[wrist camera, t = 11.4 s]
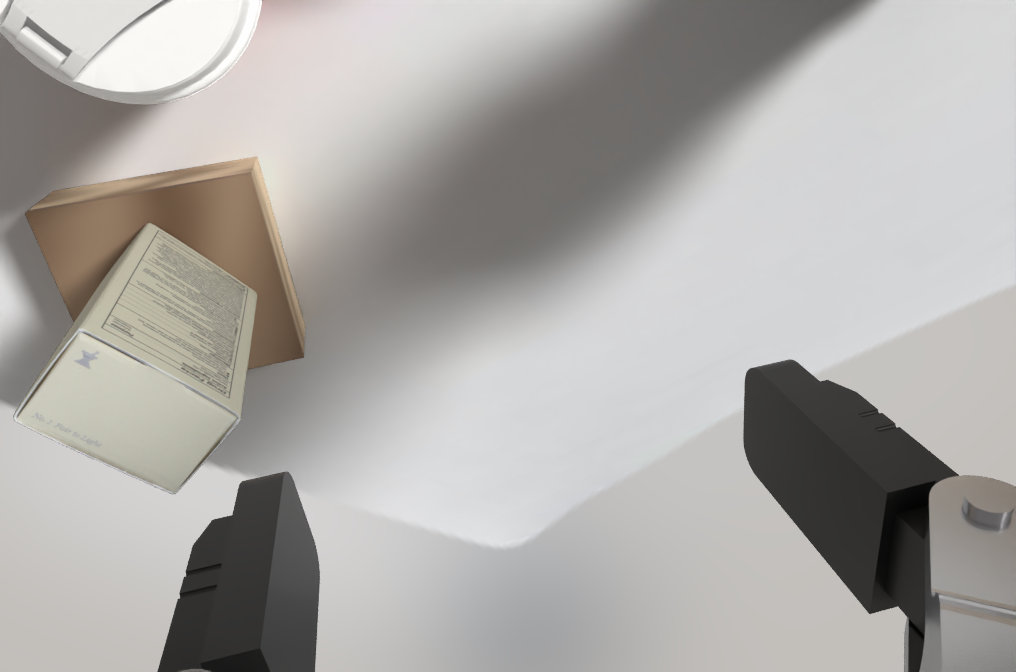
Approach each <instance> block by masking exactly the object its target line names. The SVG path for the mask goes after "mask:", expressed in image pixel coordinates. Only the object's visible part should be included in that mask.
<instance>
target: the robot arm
mask: <svg viewBox="0 0 1016 672" xmlns="http://www.w3.org/2000/svg"><path fill="white" fill-rule="evenodd" d="M744 449H745V453H746V457H747V460H748V462H749V465H750V467H751V469H752V470H753V472H754V474H755V475H756V476H757V477H758V479H759V480H760V481H761V482H762V483H763V485H764V486H765V487H766V488H767V489H768V491H769V492H770V493H771V494H772V496H773V497H774V498H775V499H776V501H777V502H778V503H779V504H780V505H781V507H782V508H783V509H784V510H785V512H786V513H787V514H788V515H789V516H790V518H791V519H792V520H793V521H794V523H795V524H796V525H797V526H798V527H799V529H800V530H801V531H802V532H803V533H804V535H805V536H806V537H807V538H808V540H809V541H810V542H811V543H812V544H813V546H814V547H815V548H816V549H817V551H818V552H819V553H820V554H821V555H822V557H823V558H824V559H825V560H826V561H827V563H828V564H829V565H830V566H831V567H832V569H833V570H834V571H835V572H836V574H837V575H838V576H839V577H840V579H841V580H842V581H843V582H844V583H845V585H846V586H847V587H848V588H849V589H850V591H851V592H852V593H853V594H854V596H855V597H856V598H857V599H858V600H859V602H860V603H861V604H862V605H863V607H864V608H865V609H866V610H867V611H868V613H869V614H871V613H875V612H879V611H882V610H886V609H890V608H894V607H897V606H898V607H899V608H900V609H901V610H902V611H903V612H904V613H905V615H906V616H907V621H906V626H905V635H904V636H905V637H904V672H1016V487H1015V486H1013V485H1011V484H1008V483H1006V482H1003V481H1000V480H996V479H992V478H988V477H982V476H970V475H968V476H967V475H963V476H959V475H958V474H957V473H956V472H954V471H953V470H952V469H950V468H949V467H948V466H947V465H946V464H944V463H943V462H942V461H941V460H939V459H938V458H937V457H936V456H935V455H933V454H932V453H931V452H930V451H928V450H927V449H926V448H925V447H923V446H922V445H921V444H920V443H919V442H917V441H916V440H915V439H914V438H912V437H911V436H910V435H909V434H907V433H906V432H905V431H904V430H902V429H901V428H900V427H898V428H896V426H895V423H894V422H893V421H891V420H890V419H889V418H888V417H886V416H885V415H884V414H883V413H878V409H877V408H875V407H874V406H873V405H872V404H870V403H869V402H868V401H867V400H866V399H864V398H863V397H862V396H861V395H859V394H858V393H857V392H855V391H852V390H850V389H848V388H845V387H843V386H841V385H838V384H836V383H833V382H831V381H829V380H825V381H821V382H820V381H819V380H817V379H816V378H815V377H814V376H813V375H812V374H810V373H809V372H808V371H807V370H806V369H805V368H803V367H802V366H801V365H800V364H799V363H797V362H796V361H794V360H786V361H781V362H777V363H772V364H768V365H763V366H759V367H755V368H750V369H749V370H748V371H747V373H746V377H745V397H744ZM319 583H320V571H319V561H318V555H317V550H316V546H315V542H314V539H313V536H312V533H311V530H310V527H309V524H308V521H307V519H306V516H305V513H304V510H303V507H302V504H301V501H300V498H299V495H298V492H297V489H296V487H295V484H294V481H293V479H292V476H291V475H290V473H289V472H282V473H278V474H273V475H269V476H264V477H260V478H255V479H251V480H246V481H242V482H241V483H240V485H239V489H238V493H237V497H236V502H235V507H234V511H233V515H232V516H227V517H223V518H219V519H214V520H212V521H211V523H210V524H209V525H208V527H207V528H206V529H205V531H204V532H203V533H202V534H201V536H200V537H199V538H198V540H197V541H196V542H195V544H194V545H193V547H192V551H191V554H190V558H189V561H188V565H187V569H186V577H184V579H183V583H182V586H181V590H180V599H178V601H177V604H176V608H175V611H174V615H173V619H172V623H171V626H170V629H169V633H168V636H167V640H166V644H165V647H164V651H163V655H162V658H161V661H160V665H159V669H158V672H315V658H316V640H317V621H318V601H319Z"/></svg>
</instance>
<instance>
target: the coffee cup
mask: <svg viewBox="0 0 1016 672" xmlns="http://www.w3.org/2000/svg"><path fill="white" fill-rule="evenodd" d="M261 6H262V0H0V33H1V34H2V35H3V36H4V37H5V38H6V39H7V40H8V41H9V42H10V43H11V44H12V45H13V46H14V48H15V49H16V50H17V51H18V52H19V53H21V54H22V55H23V56H24V57H26V58H27V59H28V60H29V61H30V62H32V63H33V64H34V65H35V66H36V67H38V68H39V69H40V70H42V71H44V72H45V73H47V74H48V75H50V76H51V77H53V78H54V79H56V80H58V81H59V82H61V83H63V84H65V85H67V86H69V87H72V88H74V89H76V90H78V91H80V92H82V93H85V94H88V95H91V96H94V97H97V98H100V99H104V100H108V101H114V102H119V103H125V104H144V105H151V104H159V103H168V102H172V101H176V100H179V99H183V98H186V97H190V96H192V95H194V94H196V93H198V92H200V91H202V90H204V89H206V88H208V87H210V86H211V85H212V84H214V83H215V82H216V81H218V80H219V79H221V78H222V77H223V76H224V75H225V74H226V73H227V72H228V71H229V70H230V69H231V68H232V67H233V66H234V65H235V64H236V63H237V62H238V60H239V59H240V57H241V56H242V54H243V53H244V51H245V50H246V48H247V47H248V45H249V43H250V40H251V38H252V36H253V33H254V31H255V29H256V27H257V23H258V19H259V15H260V10H261Z"/></svg>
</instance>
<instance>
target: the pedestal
mask: <svg viewBox="0 0 1016 672" xmlns="http://www.w3.org/2000/svg"><path fill="white" fill-rule="evenodd" d="M25 215H26V217H27V219H28V222H29V224H30V226H31V228H32V231H33V233H34V235H35V237H36V240H37V242H38V244H39V246H40V248H41V251H42V253H43V255H44V257H45V260H46V262H47V264H48V266H49V268H50V271H51V273H52V275H53V277H54V280H55V282H56V284H57V286H58V288H59V291H60V293H61V295H62V297H63V300H64V302H65V304H66V306H67V308H68V311H69V313H70V315H71V317H72V320H73V322H75V320H76V319H77V317H78V316H79V315H80V313H81V312H82V310H83V309H84V307H85V306H86V304H87V303H88V301H89V300H90V298H91V297H92V295H93V294H94V292H95V291H96V289H97V288H98V286H99V285H100V283H101V282H102V281H103V279H104V278H105V276H106V275H107V274H108V272H109V271H110V269H111V268H112V267H113V265H114V264H115V263H116V261H117V260H118V259H119V257H120V256H121V255H122V254H123V252H124V251H125V250H126V248H127V247H128V246H129V245H130V243H131V242H132V241H133V239H134V238H135V237H136V236H137V235H138V233H139V232H140V231H141V230H142V228H143V227H144V226H145V225H146V224H147V223H151V224H153V225H155V226H157V227H158V228H160V229H161V230H163V231H165V232H166V233H168V234H170V235H171V236H173V237H174V238H176V239H178V240H179V241H181V242H182V243H184V244H185V245H187V246H188V247H190V248H191V249H193V250H194V251H196V252H197V253H199V254H200V255H202V256H203V257H205V258H207V259H208V260H210V261H211V262H213V263H214V264H216V265H217V266H219V267H220V268H222V269H223V270H225V271H226V272H228V273H229V274H231V275H232V276H234V277H235V278H237V279H238V280H239V281H241V282H242V283H244V284H245V285H247V286H248V287H250V288H251V289H252V290H254V291H255V292H256V293H257V302H256V309H255V316H254V324H253V331H252V338H251V346H250V353H249V360H248V367H247V369H252V368H256V367H261V366H266V365H271V364H275V363H280V362H285V361H289V360H294V359H299V358H304V342H305V324H304V320H303V317H302V313H301V310H300V306H299V303H298V299H297V296H296V292H295V288H294V285H293V281H292V278H291V274H290V271H289V267H288V264H287V260H286V257H285V253H284V250H283V246H282V242H281V239H280V235H279V232H278V228H277V225H276V221H275V218H274V214H273V211H272V207H271V204H270V200H269V196H268V193H267V189H266V186H265V182H264V179H263V175H262V172H261V168H260V165H259V161H258V157H252V158H246V159H240V160H234V161H228V162H222V163H216V164H210V165H204V166H198V167H192V168H187V169H181V170H175V171H169V172H163V173H157V174H151V175H145V176H139V177H133V178H127V179H122V180H116V181H110V182H104V183H98V184H92V185H86V186H80V187H74V188H68V189H62V190H57V191H53V192H52V193H50V194H49V195H48V196H46V197H45V198H44V199H43V200H41V201H40V202H39V203H37V204H36V205H35V206H33V207H32V208H31V209H30V210H28V211H27V212H26V213H25Z"/></svg>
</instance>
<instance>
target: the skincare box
mask: <svg viewBox="0 0 1016 672" xmlns="http://www.w3.org/2000/svg"><path fill="white" fill-rule="evenodd" d="M256 302H257V293H256V292H255V291H254V290H252V289H251V288H250V287H248V286H247V285H245V284H244V283H242V282H241V281H239V280H238V279H237V278H235V277H234V276H232V275H231V274H229V273H228V272H226V271H225V270H223V269H222V268H220V267H219V266H217V265H216V264H214V263H213V262H211V261H210V260H208V259H207V258H205V257H203V256H202V255H200V254H199V253H197V252H196V251H194V250H193V249H191V248H190V247H188V246H187V245H185V244H184V243H182V242H181V241H179V240H178V239H176V238H174V237H173V236H171V235H170V234H168V233H166V232H165V231H163V230H161V229H160V228H158V227H157V226H155V225H153V224H151V223H147V224H146V225H145V226H144V227H143V228H142V230H141V231H140V232H139V233H138V235H137V236H136V237H135V238H134V239H133V241H132V242H131V243H130V245H129V246H128V247H127V248H126V250H125V251H124V252H123V254H122V255H121V256H120V257H119V259H118V260H117V261H116V263H115V264H114V265H113V267H112V268H111V269H110V271H109V272H108V274H107V275H106V276H105V278H104V279H103V281H102V282H101V283H100V285H99V286H98V288H97V289H96V291H95V292H94V294H93V295H92V297H91V298H90V300H89V301H88V303H87V304H86V306H85V307H84V309H83V310H82V312H81V313H80V315H79V316H78V317H77V319H76V320H75V322H74V323H73V325H72V326H71V328H70V329H69V331H68V332H67V334H66V335H65V337H64V338H63V340H62V341H61V343H60V344H59V346H58V347H57V349H56V350H55V352H54V353H53V355H52V356H51V358H50V359H49V361H48V362H47V364H46V365H45V367H44V368H43V370H42V371H41V373H40V374H39V376H38V377H37V379H36V381H35V382H34V384H33V385H32V387H31V388H30V390H29V391H28V393H27V394H26V396H25V397H24V399H23V400H22V402H21V404H20V405H19V407H18V408H17V410H16V411H15V414H14V416H13V418H14V420H15V421H16V422H17V423H19V424H21V425H24V426H25V427H27V428H29V429H31V430H33V431H35V432H37V433H39V434H41V435H43V436H45V437H47V438H49V439H51V440H54V441H56V442H58V443H60V444H62V445H64V446H66V447H69V448H71V449H73V450H75V451H77V452H79V453H81V454H83V455H85V456H87V457H89V458H92V459H94V460H97V461H99V462H101V463H103V464H105V465H107V466H109V467H112V468H114V469H116V470H118V471H121V472H123V473H125V474H127V475H129V476H131V477H134V478H136V479H139V480H141V481H143V482H145V483H147V484H150V485H152V486H154V487H156V488H159V489H161V490H163V491H166V492H168V493H170V494H175V493H177V492H178V491H179V490H180V489H181V488H182V487H183V486H184V484H185V483H186V482H187V481H188V480H189V479H190V478H191V477H192V476H193V475H194V474H195V472H196V471H197V470H198V469H199V468H200V467H201V466H202V465H203V463H204V462H205V461H206V460H207V459H208V458H209V457H210V455H211V454H212V453H213V452H214V451H215V450H216V449H217V448H218V447H219V445H220V444H221V443H222V442H223V441H224V440H225V438H226V437H227V436H228V435H229V434H230V432H231V431H232V430H233V429H234V428H235V427H236V425H237V424H238V423H239V422H240V420H241V412H242V404H243V397H244V389H245V382H246V374H247V367H248V360H249V353H250V346H251V338H252V331H253V324H254V316H255V309H256Z"/></svg>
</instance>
